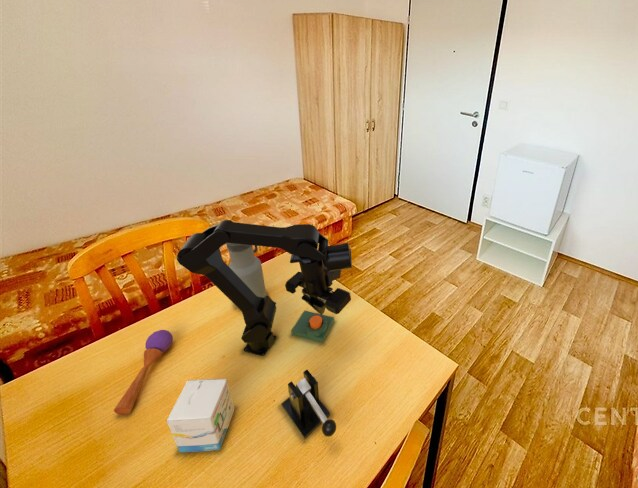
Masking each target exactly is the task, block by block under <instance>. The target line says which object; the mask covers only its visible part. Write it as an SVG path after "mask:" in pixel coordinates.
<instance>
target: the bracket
mask: <svg viewBox="0 0 638 488" xmlns="http://www.w3.org/2000/svg"><path fill="white" fill-rule="evenodd" d="M303 378H305V379H306V380H307V382H308V383H309V385H310V386H311V392H310V393H311V394H312V396H313V398H314V399H315V401H316V402H317V404H318V405H319V407H320V408H321V410H322V411H323V413H324V414H325V416H326V417H327V419H329V418H330V417H331V412H330V410H328V409H327V407H326V406H325V405H324V403H323V402H322V401H321V400H320V394H319V393H320V392H319V391H320V390H319V382H318V380H317V378H316V376H314V375H313V374H312V373H311V372H310V371H309V369H305V370H304V371H303ZM287 389H288V396H289V397H288V398H287V399H285V400H284V401H283V402H281V408H282V409H283V411H284V412H285V414H286V416H288V418H289V419H290V421H291V422H292V424H293V425H294V427H295V428H296V429H297V431H298V432H299V434H300V436H301V437H302V438H303V440H306V439H307V438H308V437H309V436H310V435H311V434H312V433H313V432H314V431H316V429H318V428H319V427H320V426H321V425H323V424H322V422H321V421H320V419H319V418H318V416H317V415H316V413H315V412H314V410H313V408H312V407H311V405H310V404H309V402H308V401H307V399H306V398H305V397H304V398H303V399H302V394H301V393H300V392H299V390H298V389H297V388H296V384H294V382H293V381H292V380H291V381H290V382H288V383H287Z"/></svg>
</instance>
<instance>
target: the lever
mask: <svg viewBox="0 0 638 488" xmlns="http://www.w3.org/2000/svg"><path fill="white" fill-rule="evenodd" d="M295 386H296V388H297V389H298V390H299V392H300V393H301V394H302V399H303V398H304V397H305V398H306V399H307V401H308V402H309V404H310V405H311V407H312V408H313V410H314V412H315V413H316V415H317V416H318V418H319V419H320V421H321V422H322V424H321V425H322V426H321V432H322V434H323V436H325V437H327V438H330V437H332V436H333V435H334V434H335V433H336V431H337V423H336V420H334V419H332V418H327V417H326V416H325V414H324V413H323V411H322V410H321V408H320V407H319V405H318V404H317V402H316V401H315V399H314V398H313V396H312V394H311V393H310V392H311V386H310V385H309V383H308V382H307V380H306V379H305V378H304V377H303V378H301V380H299V381H298V382H297V383H296V384H295Z"/></svg>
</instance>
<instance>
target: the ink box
mask: <svg viewBox="0 0 638 488" xmlns="http://www.w3.org/2000/svg"><path fill="white" fill-rule="evenodd" d="M234 412H235V405H234V403H233V398H232V394H231V390H230V386H229V382H228V379H227V378H204V379H188V380H187V381H186V382H185V384H184V387H183V388H182V390H181V392H180V394H179V396H178V398H177V400H176V401H175V403H174V405H173V407H172V409H171V410H170V413H169V416H168V417H167V419H166V423H167V425H168V428H169V430H170V432H171V435H172V437H173V440H174V442H175V445H176V447H177V449H178V450H177V451H178V452H179V453H181V454H182V453H197V452H199V453H200V452H211V451H219V450H221V448H222V446H223V443H224V440H225V437H226V434H227V431H228V428H229V426H230V423H231V420H232V419H233V415H234Z"/></svg>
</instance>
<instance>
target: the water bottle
mask: <svg viewBox="0 0 638 488" xmlns="http://www.w3.org/2000/svg"><path fill="white" fill-rule="evenodd" d="M225 245H226V249H227V251H228V254H229V259H230V262H229V264H227V265H228V266H229V267H230V268H231V269H232V270H233V272H234V273H235V274H236V275H237V276H238V277H239V278H240V279H241V280H242V281H243V282H244V283H245V284H246V285H247V286H248V287H249V288H250V289H251V290H252V291H253V293H254V294H255V295H256V296H258V297H265V296H267V290H266V283H265V277H264V271H263V266H262V261H261V259H260V258H258V257H257V256H255V254H256V253H257V252H258V249H259V248H258V247H259V246H254V245H244V244H234V243H226V244H225ZM253 246H254V247H253ZM234 306H235V308H236V309H239V308H238V307H237V306H236V305H235V304H234ZM239 310H240V309H239Z"/></svg>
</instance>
